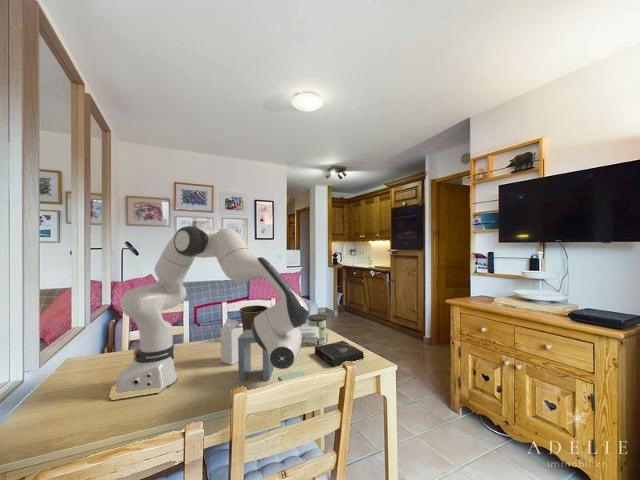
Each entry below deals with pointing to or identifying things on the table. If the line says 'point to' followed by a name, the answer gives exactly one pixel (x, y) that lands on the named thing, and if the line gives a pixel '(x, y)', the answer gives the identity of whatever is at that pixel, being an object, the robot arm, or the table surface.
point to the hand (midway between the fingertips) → (293, 327)
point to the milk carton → (230, 341)
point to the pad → (291, 375)
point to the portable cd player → (338, 353)
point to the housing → (245, 357)
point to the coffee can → (319, 322)
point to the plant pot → (250, 315)
